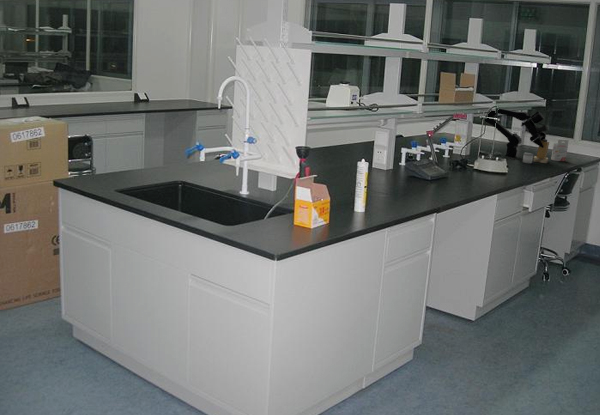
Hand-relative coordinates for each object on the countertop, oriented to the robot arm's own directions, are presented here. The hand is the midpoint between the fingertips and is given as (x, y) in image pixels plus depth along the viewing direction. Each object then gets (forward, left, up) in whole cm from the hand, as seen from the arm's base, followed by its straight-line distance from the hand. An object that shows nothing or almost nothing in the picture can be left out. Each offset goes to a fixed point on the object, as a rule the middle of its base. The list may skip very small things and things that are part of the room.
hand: (545, 146), depth 467 cm
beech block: (-1, 0, -11) cm, 11 cm away
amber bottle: (-1, 0, -8) cm, 8 cm away
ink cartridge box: (+10, +17, -10) cm, 22 cm away
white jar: (-9, -13, -10) cm, 19 cm away
